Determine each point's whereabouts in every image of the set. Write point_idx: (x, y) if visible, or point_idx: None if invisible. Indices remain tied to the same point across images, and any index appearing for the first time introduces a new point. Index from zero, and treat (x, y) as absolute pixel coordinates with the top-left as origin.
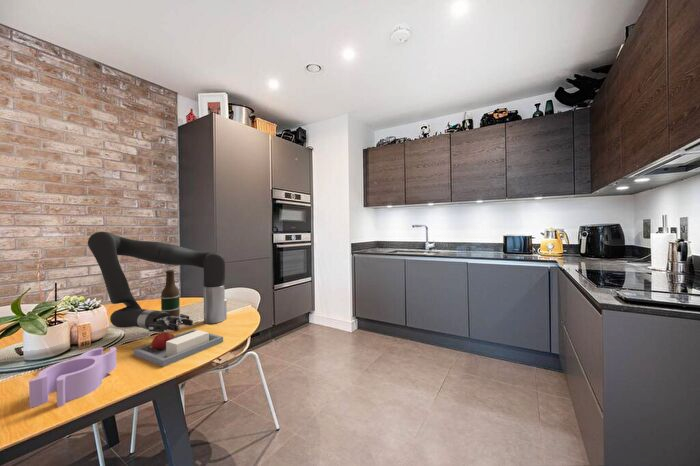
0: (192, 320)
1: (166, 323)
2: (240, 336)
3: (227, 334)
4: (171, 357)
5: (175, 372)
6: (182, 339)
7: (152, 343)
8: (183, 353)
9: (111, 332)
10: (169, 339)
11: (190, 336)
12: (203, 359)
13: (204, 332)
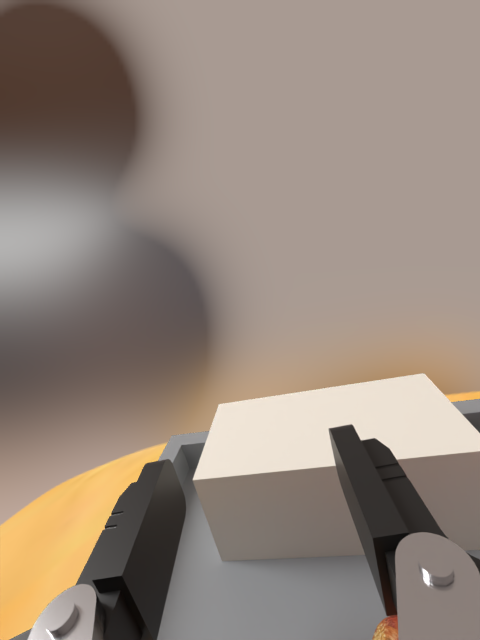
0: (151, 462)
1: (473, 616)
2: (80, 484)
3: (22, 574)
4: (465, 401)
5: (456, 396)
6: (369, 409)
7: None
8: None
9: None
10: None
11: (308, 418)
12: None
13: (223, 419)
